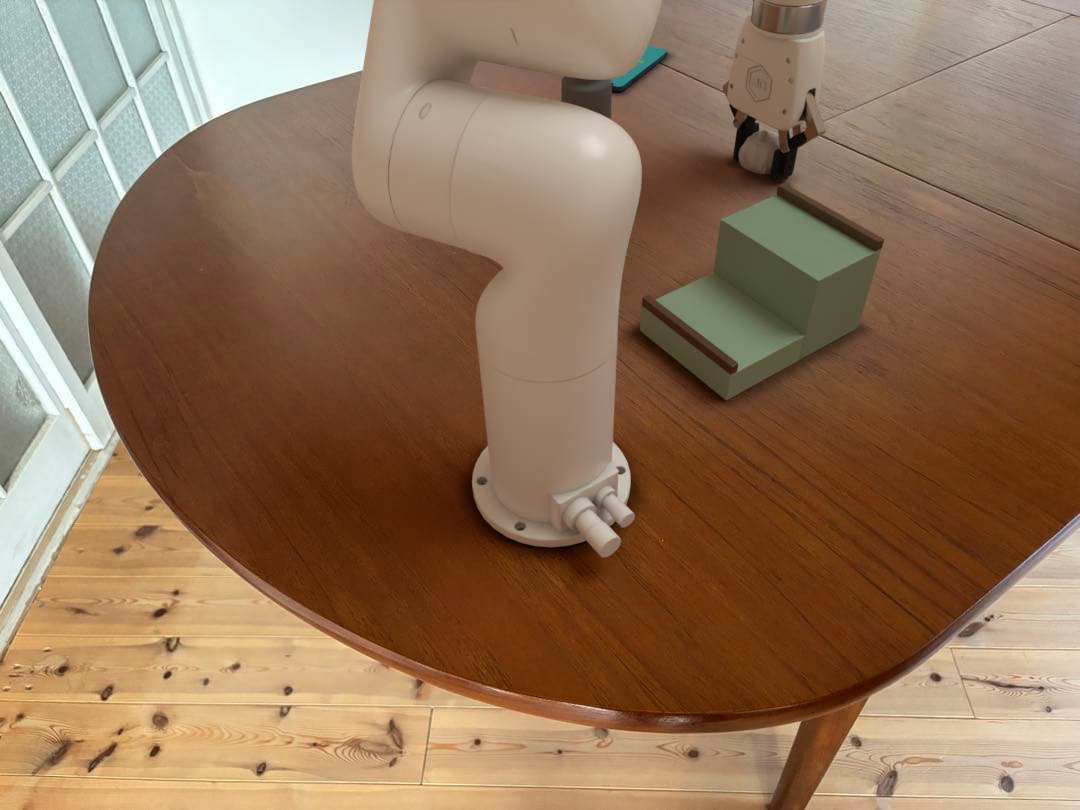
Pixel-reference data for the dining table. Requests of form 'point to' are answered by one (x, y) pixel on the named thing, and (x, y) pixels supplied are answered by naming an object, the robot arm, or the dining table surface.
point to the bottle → (588, 94)
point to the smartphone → (640, 68)
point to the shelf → (767, 293)
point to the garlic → (759, 152)
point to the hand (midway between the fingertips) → (762, 166)
